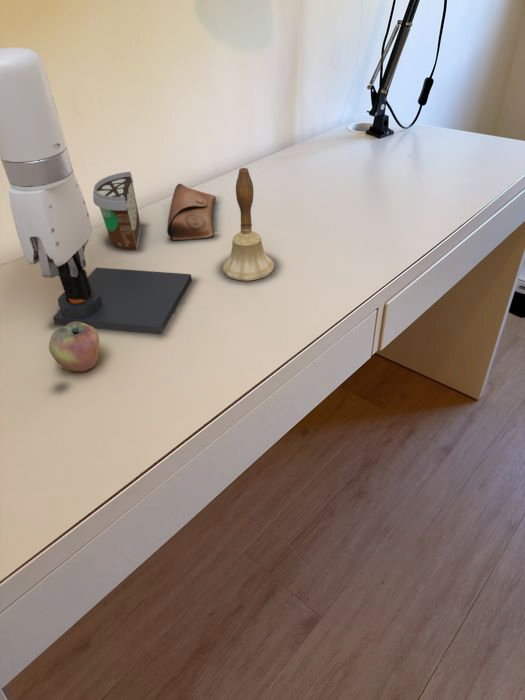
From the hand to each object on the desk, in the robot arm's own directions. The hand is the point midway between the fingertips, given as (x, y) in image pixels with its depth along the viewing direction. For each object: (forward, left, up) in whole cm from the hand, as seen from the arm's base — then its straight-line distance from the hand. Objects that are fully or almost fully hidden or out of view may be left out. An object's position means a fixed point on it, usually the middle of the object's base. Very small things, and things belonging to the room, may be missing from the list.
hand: (79, 295), depth 75 cm
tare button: (0, 0, -2) cm, 2 cm away
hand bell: (+21, +16, -3) cm, 26 cm away
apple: (+5, -11, -3) cm, 12 cm away
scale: (+5, +4, -3) cm, 7 cm away
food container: (-4, +23, -3) cm, 24 cm away
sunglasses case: (+6, +33, -3) cm, 34 cm away
